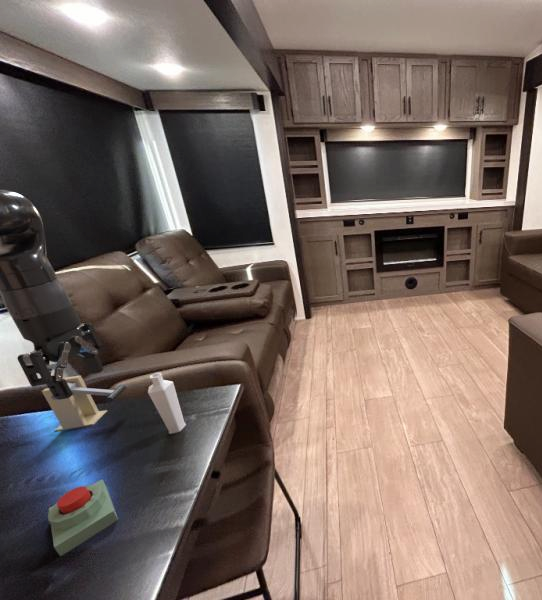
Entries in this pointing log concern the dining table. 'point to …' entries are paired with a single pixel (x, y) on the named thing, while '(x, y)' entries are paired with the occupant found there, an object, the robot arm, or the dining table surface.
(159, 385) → the perfume bottle
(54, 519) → the button block
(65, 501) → the button
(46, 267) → the robot arm
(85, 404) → the lever bracket
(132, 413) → the dining table surface
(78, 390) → the gray bracket-mounted lever
